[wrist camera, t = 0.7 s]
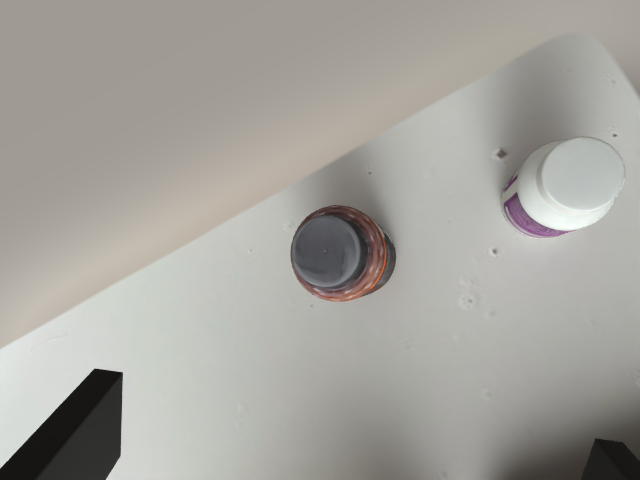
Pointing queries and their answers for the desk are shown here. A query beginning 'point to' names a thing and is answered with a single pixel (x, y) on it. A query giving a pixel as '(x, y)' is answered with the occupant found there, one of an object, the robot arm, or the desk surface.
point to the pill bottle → (563, 187)
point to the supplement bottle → (341, 254)
